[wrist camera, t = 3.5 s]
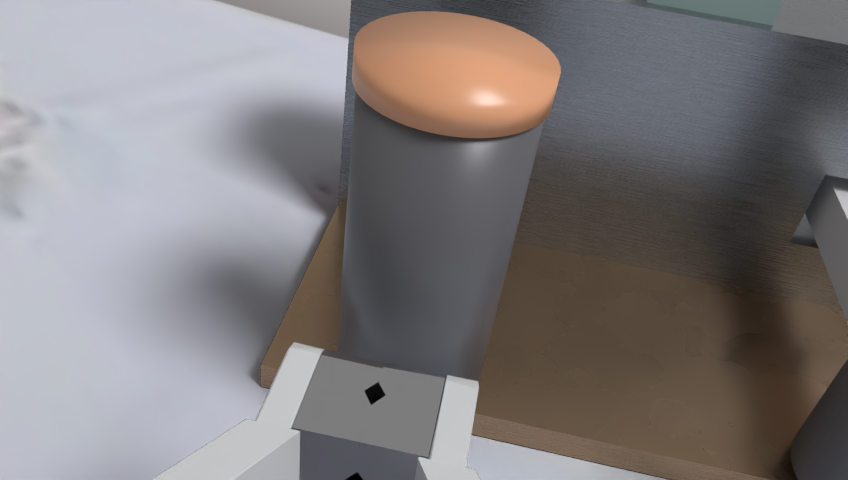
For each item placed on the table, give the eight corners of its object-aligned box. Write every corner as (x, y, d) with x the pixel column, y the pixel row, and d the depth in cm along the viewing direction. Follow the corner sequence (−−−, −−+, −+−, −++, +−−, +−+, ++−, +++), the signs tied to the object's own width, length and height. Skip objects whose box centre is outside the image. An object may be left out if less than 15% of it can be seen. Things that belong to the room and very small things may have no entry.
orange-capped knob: (312, 420, 22) (328, 76, 15) (399, 189, 31) (433, -82, 25) (469, 455, 21) (556, 121, 15) (508, 211, 31) (572, -57, 24)
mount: (260, 386, 24) (255, 69, 17) (366, 162, 35) (387, -86, 28) (1004, 555, 23) (1316, 277, 16) (870, 264, 34) (1020, 28, 27)
